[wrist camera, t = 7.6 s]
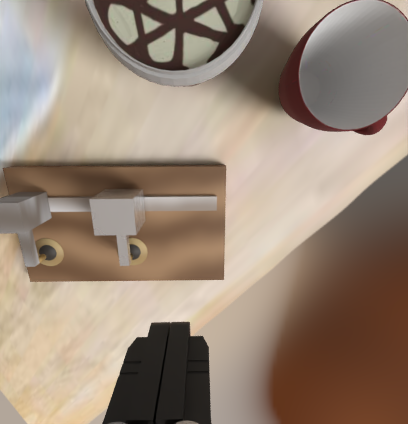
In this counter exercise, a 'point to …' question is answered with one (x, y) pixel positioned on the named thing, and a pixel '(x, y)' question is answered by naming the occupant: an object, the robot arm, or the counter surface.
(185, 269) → the hole board
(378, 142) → the counter surface
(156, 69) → the food container
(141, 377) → the robot arm
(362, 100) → the mug
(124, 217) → the leg
